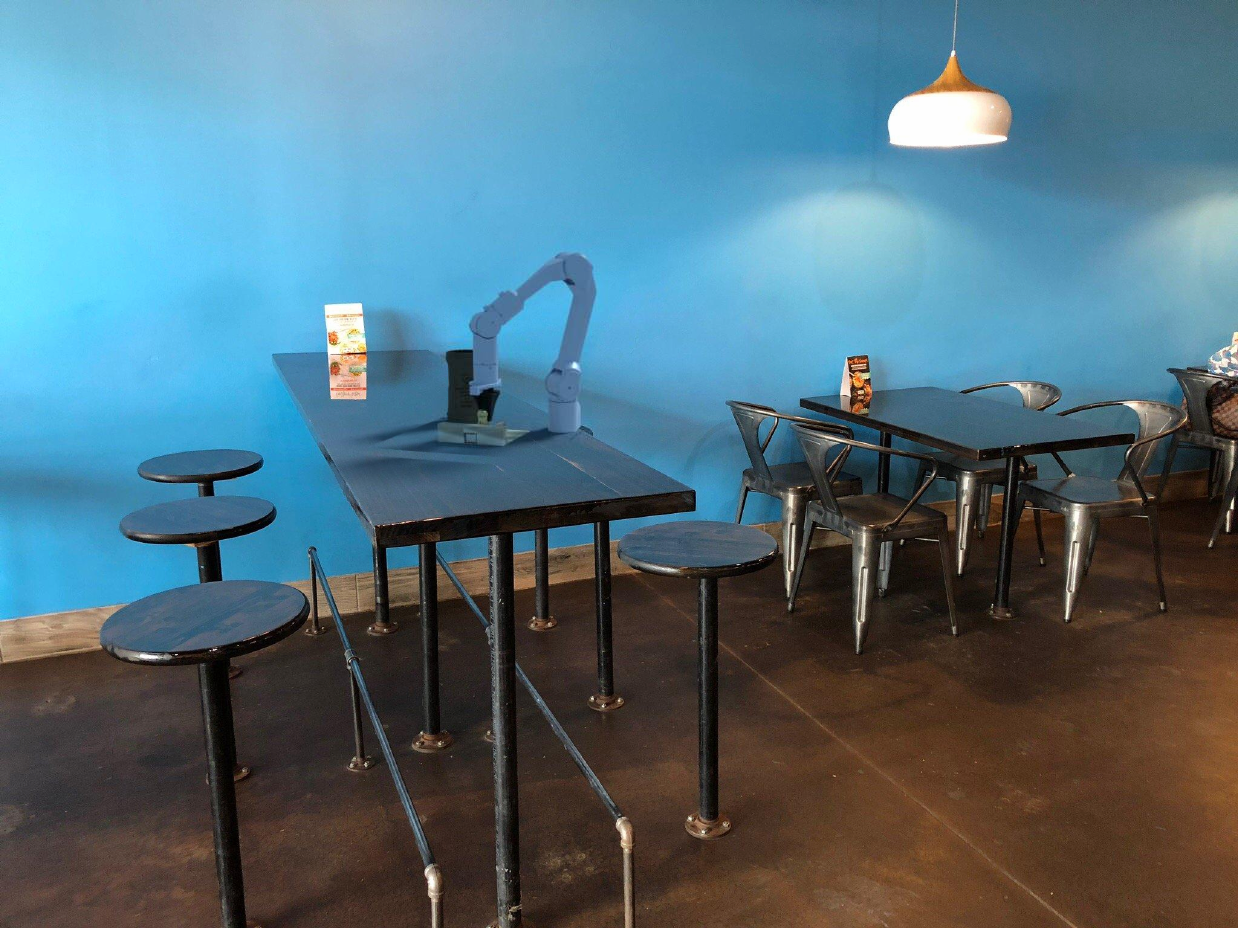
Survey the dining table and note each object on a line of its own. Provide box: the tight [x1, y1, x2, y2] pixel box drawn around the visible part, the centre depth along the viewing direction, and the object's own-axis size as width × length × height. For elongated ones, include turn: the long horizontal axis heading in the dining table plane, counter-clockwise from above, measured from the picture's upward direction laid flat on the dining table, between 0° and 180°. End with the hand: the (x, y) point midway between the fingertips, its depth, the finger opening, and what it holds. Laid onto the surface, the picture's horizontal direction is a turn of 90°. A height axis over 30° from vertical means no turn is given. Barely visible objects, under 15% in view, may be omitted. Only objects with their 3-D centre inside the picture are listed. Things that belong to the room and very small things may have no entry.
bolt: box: [466, 409, 488, 442], centre depth 219 cm, size 8×2×6 cm, turn 165°
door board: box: [436, 421, 531, 447], centre depth 224 cm, size 18×16×6 cm
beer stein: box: [445, 348, 479, 424], centre depth 243 cm, size 15×11×20 cm
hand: (486, 421), depth 225 cm, fingers closed
